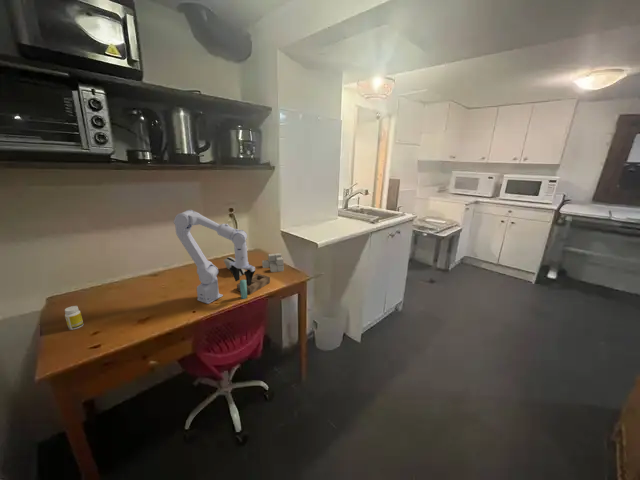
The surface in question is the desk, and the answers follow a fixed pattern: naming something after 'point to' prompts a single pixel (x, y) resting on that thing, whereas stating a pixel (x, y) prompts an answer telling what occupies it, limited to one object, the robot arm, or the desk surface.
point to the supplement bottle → (73, 317)
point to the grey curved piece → (230, 266)
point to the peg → (243, 289)
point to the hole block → (256, 283)
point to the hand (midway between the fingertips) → (243, 282)
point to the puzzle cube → (274, 262)
